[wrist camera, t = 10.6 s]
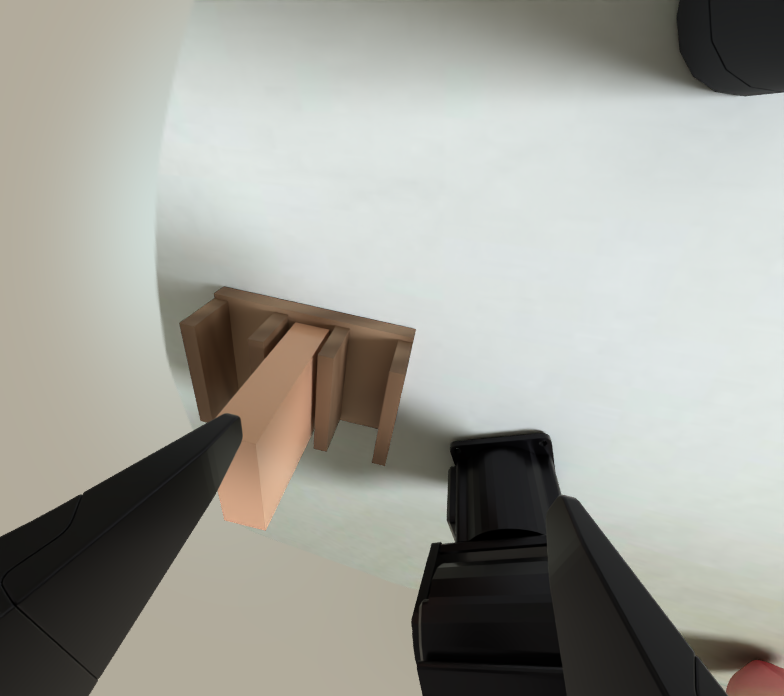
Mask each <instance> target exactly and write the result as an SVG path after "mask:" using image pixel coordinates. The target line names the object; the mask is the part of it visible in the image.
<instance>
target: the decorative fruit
mask: <svg viewBox="0 0 784 696" xmlns="http://www.w3.org/2000/svg"><path fill="white" fill-rule="evenodd" d="M726 693H727V695H728V696H784V669H783V668H780V667H778V666H775V665H773V664H771V663H768V662H765V661H761V660H753V661H751V662H750V663H748V664H747V665H746V666H744V667H743V668H742V669H740V670H739V671H738V672H736V673H735V674H734V675H733V676H732V678H731V679H730V681H729V683H728V686H727V689H726Z"/></svg>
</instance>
